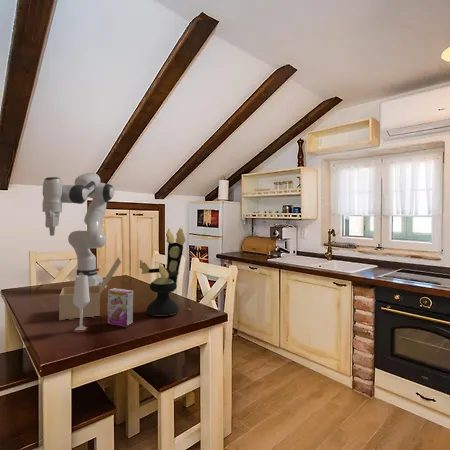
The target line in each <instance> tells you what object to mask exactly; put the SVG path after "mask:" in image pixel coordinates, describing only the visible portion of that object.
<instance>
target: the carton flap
mask: <svg viewBox="0 0 450 450" xmlns="http://www.w3.org/2000/svg"><path fill="white" fill-rule="evenodd" d="M121 263H122V259H121V258H120V256H118V257H117V258H116V260H115V261H114V263H113V265H112V266H111V267H110V269H109V271H108V272H107V274H106V275H105V277H104V278H103V282H102V283H101V285H100V294H102V293H103V291H104V290H105V289H106V288H107V287H106V285H107V286H108V284H109V282H110V280H111V279H112V277H113V276H114V274H115V273H116V271H117V270H118V268H119V266H120V264H121ZM105 287H106V288H105Z"/></svg>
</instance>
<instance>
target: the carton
mask: <svg viewBox="0 0 450 450" xmlns="http://www.w3.org/2000/svg"><path fill="white" fill-rule="evenodd" d="M74 287H75V286H72V287H71V286H69V287H62V288H61V292H60V294H59V296H58V297H59V307H58V310H59V312H58V313H59V314H58V316H59V317H58V320H59V321H66V320H65V319H69V320H74V319H73V318H80V308H78V307H77V306H75V305H74V303H73V296H74ZM89 298H90V301H89V303H88V304H87V305H86V306H85V307H84V308H83V319H85V318H84V317H92V318H95V317H94V316H100V317H101V293H100V286H89Z"/></svg>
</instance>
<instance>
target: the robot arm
mask: <svg viewBox="0 0 450 450" xmlns="http://www.w3.org/2000/svg"><path fill="white" fill-rule="evenodd" d="M42 183H43V184H42V197H43V198H42V206H41V207H42V212H44V215H45V224H44V225H45V227H46V228H48V230H49V236H51V237H53V236H55V231H56V227H57V226H59V224H60V223H59V222H60V214H61V213H62V212H63V204H79V205H82V204H84V203H85V202H86V201H87V199H88V198H89V199H92V200H91V201H90V203H89V205H88V207H87V210H86V213H85V216H84V220H83V221H84V223H85V225H86V226H87V230H75V231H72V232H70V233H69V235H68V238H67V239H68V243H69V244H70V246H71V247H72V248H73V249H74V252H75V255H76V259H77V262H76V263H77V266H76V267H77V269H76V272H75V273H76V276H78V275H87V276H88V286H100V285H101V283H102V282H103V280H104V278H103V277H102V276H101V275H99V274H98V272H100V270H101V269H100V268H99V267H97V257H96V255H95V254H93V253H92V251H91V249H100V248H103V247H104V246H105V245H106V242H107V238H106V234H105V233H104V232H103V230H102V226H103V221H104V218H105V214H106V211H107V203H109V201H110V200H112V198H113V197H114V195H115V188H114V186H113V185H111V184H110V183H104V182H101V177H100V176H99V175H98V174H97V173H96V172H95V173H94V172H86V173H83V174H80V175H78V176H77V177H76V178H75V179H74V184H64V183H63V182H62V179H61V178H60V177H57V176H50V177H46V178H44V179H43V182H42ZM107 287H108V284H107V285H106V287H105V288H104V289H106V288H107Z"/></svg>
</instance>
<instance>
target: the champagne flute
mask: <svg viewBox="0 0 450 450" xmlns="http://www.w3.org/2000/svg"><path fill="white" fill-rule="evenodd" d="M74 279H75V280H74V286H73V287H74V296H73V303H74V305H75V306H77V307H78V308H80V319H79V326H77V327H76V328H74V329H75V330H85V329H86V328H88V327H86V326H85V325H83V323H84V322H83V319H84V318H83V308H84V307H85V306H86V305H87V304H88V303H89V301H90V298H89V286H88V276H87V275H78V276H77V275H75V278H74Z"/></svg>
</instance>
